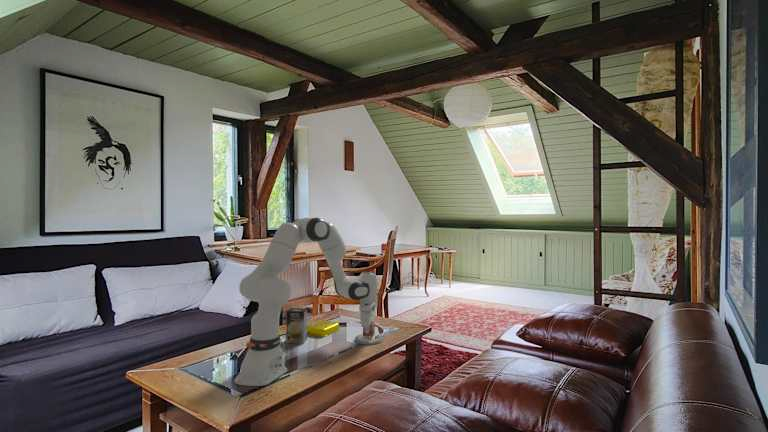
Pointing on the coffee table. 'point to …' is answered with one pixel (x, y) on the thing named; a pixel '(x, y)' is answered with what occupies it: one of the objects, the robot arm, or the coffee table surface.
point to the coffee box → (296, 325)
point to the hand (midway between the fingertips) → (368, 330)
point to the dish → (363, 340)
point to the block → (370, 330)
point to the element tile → (322, 328)
